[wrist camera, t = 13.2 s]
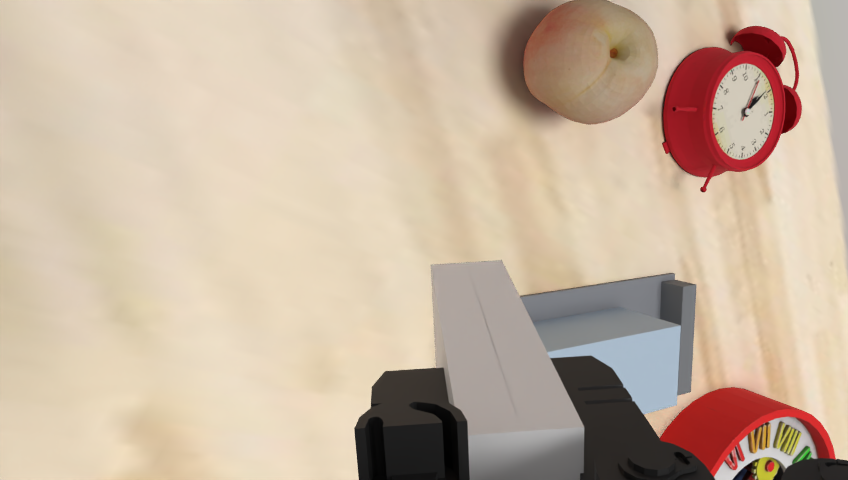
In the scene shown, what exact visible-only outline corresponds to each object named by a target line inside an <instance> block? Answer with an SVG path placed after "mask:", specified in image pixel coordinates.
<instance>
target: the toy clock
mask: <svg viewBox="0 0 848 480" xmlns="http://www.w3.org/2000/svg"><path fill="white" fill-rule="evenodd" d="M660 440H661V441H664V442H668V443H672V444H675V445H677V446H679V447H681V448H683V449H685V450H687V451H689V452H691V453H693V454H694V455H695V456H696V457H697V458H698V459H699V460H700V461H701V462H702V463H704V464H705V466H706V467H707V469H708V470H709V471H710V473H711V474H712V475H713V477H714V478H715V480H781V477H782V476H783V474H784V472H785V470H786V468H787V467H788V466H790V465H792V464H794V463H796V462H798V461H800V460H807V459H817V458H830V459H835V460H836V458H835V454H834V449H833V445H832V443H831V440H830V438H829V435H828V433H827V431H826V430H825V429H824V427H823V426H822V424H821V423H820V422H819V421H818V420H817V419H816V418H815V417H814V416H812V415H811V414H809V413H807V412H804V411H802V410H799V409H797V408H794V407H791V406H789V405H786V404H783V403H781V402H778V401H775V400H772V399H770V398H767V397H764V396H762V395H759V394H756V393H754V392H751V391H748V390H746V389H741V388H734V387H731V388H723V389H718V390H715V391H712V392H710V393H707V394H705V395H703V396H702V397H700V398H698V399H697V400H695V401H694V402H692V403H691V404H690V405H689V406H688V407H686V408H685V409H684V410H683V411H682V412H680V413H679V415H678V416H677V417H676V418H675V419H674V420H673V421H672V423H671V424H670V425H669V426H668V427H667V429H666V430H665V431H664V433H663V434H662V436H661V437H660Z"/></svg>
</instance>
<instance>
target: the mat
mask: <svg viewBox="0 0 848 480" xmlns="http://www.w3.org/2000/svg"><path fill="white" fill-rule="evenodd" d="M520 298H521V300H522V302H523V304H524V306H525V308H526V310H527V312H528V314H529V316H530V318H531V320H532V322H537V321H542V320H548V319H554V318H560V317H566V316H571V315H577V314H583V313H589V312H595V311H600V310H606V309H612V308H618V307H622V308H625V309H628V310H631V311H635V312H638V313H641V314H645V315H648V316H651V317H655V318H658V319H661V320H665V321H668V322H671V323H674V324H678V325H681V333H680V352H679V371H678V391H677V395H681V394H685V393H688V392H691V377H692V358H693V339H694V320H695V301H696V285H695V284H691V283H687V282H682V281H678V280H675V274H674V273H669V274H663V275H656V276H650V277H643V278H637V279H630V280H624V281H617V282H611V283H604V284H597V285H591V286H584V287H578V288H571V289H565V290H558V291H552V292H545V293H539V294H532V295H525V296H520Z"/></svg>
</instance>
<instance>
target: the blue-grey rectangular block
mask: <svg viewBox="0 0 848 480" xmlns="http://www.w3.org/2000/svg"><path fill="white" fill-rule="evenodd" d="M533 324H534V326H535V328H536V330H537V333H538V335H539V337H540V339H541V341H542V343H543V345H544V347H545V349H546V351H547V353H548V355H549V357H550V358H560V357H575V356H590V355H591V356H593V357H595V358H596V359H598V360H600V361H601V362H603V363H605V364H606V365H608V366H609V367H611V368H613V370H614V371H615V373H616V374H617V376H618V377H619V379H620V380H621V382H622V383H623V387H624V388H626V389H627V391H628V392H629V394H630V395H631V397H632V401H635V403H636V404H637V406H638V407H639V409H640V410H641V412H642V413H643V414H646V413H650V412H654V411H657V410H661V409H664V408H668V407H672V406H675V405H677V391H678V371H679V352H680V333H681V325H678V324H674V323H671V322H668V321H665V320H661V319H658V318H655V317H651V316H648V315H645V314H641V313H638V312H635V311H631V310H628V309H625V308H622V307H618V308H612V309H606V310H600V311H595V312H589V313H583V314H577V315H571V316H566V317H560V318H554V319H548V320H542V321H537V322H533Z"/></svg>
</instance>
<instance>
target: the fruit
mask: <svg viewBox="0 0 848 480" xmlns="http://www.w3.org/2000/svg"><path fill="white" fill-rule="evenodd" d="M657 67H658V52H657V45H656V40H655V37H654V34H653V32H652V30H651V29H650V27H649V26H648V25H647V23H646V22H645V21H644V20H643V19H641V18H640V17H639V16H638V15H637V14H635V13H634V12H632V11H631V10H629V9H626V8H624V7H621V6H619V5H617V4H614V3H612V2H609V1H607V0H574V1H570V2H566V3H564V4H562V5H560V6H558V7H557V8H555V9H553V10H552V11H550V12H549V13H548V14H547V15H546V16H545V17H544V18H543V20H542V21H541V22H540V23H539V24H538V26H537V27H536V29H535V30H534V32H533V33H532V35H531V37H530V38H529V40H528V42H527V45H526V48H525V52H524V60H523V68H524V77H525V82H526V84H527V87H528V89H529V91H530V93H531V94H532V95H533V96H535V97H536V98H537V99H538V100H539V101H541V102H542V103H544V104H546V105H547V106H548V107H549V108H551V109H552V110H554V111H555V112H556V113H558V114H560V115H562V116H564V117H565V118H567V119H569V120H572V121H575V122H579V123H584V124H598V123H604V122H607V121H610V120H612V119H615V118H617V117H619V116H621V115H622V114H624V113H625V112H627V111H628V110H629V109H631V108H632V107H633V106H634V105H636V104H637V103H638V102H639V101H640V100H641V99H642V98H643V96H644V95H645V93H646V92H647V90H648V89H649V87H650V86H651V84H652V82H653V80H654V78H655V75H656V71H657Z"/></svg>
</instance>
